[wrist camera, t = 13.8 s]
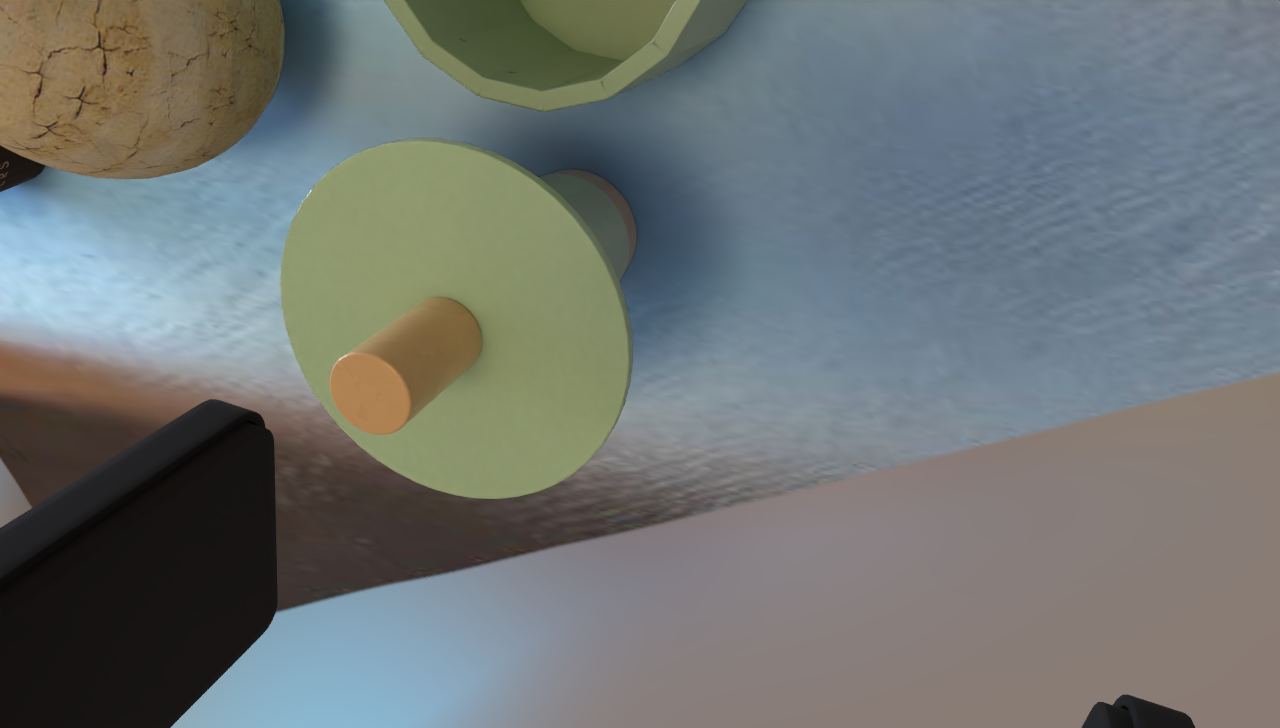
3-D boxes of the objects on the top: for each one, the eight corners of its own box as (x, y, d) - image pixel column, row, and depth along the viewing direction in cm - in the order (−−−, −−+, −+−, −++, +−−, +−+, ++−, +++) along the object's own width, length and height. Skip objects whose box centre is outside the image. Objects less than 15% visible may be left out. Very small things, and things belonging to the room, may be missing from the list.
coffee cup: (566, 98, 42) (437, 153, 31) (703, 233, 42) (621, 331, 32) (462, 227, 46) (318, 313, 35) (588, 348, 47) (483, 468, 36)
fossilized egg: (331, 178, 47) (91, 271, 34) (118, 99, 49) (-187, 158, 36) (359, -95, 41) (81, -110, 28) (115, -173, 43) (-253, -222, 30)
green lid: (669, 187, 29) (607, 242, 24) (608, 527, 35) (548, 631, 30) (296, 95, 32) (165, 126, 27) (299, 427, 38) (193, 507, 33)
